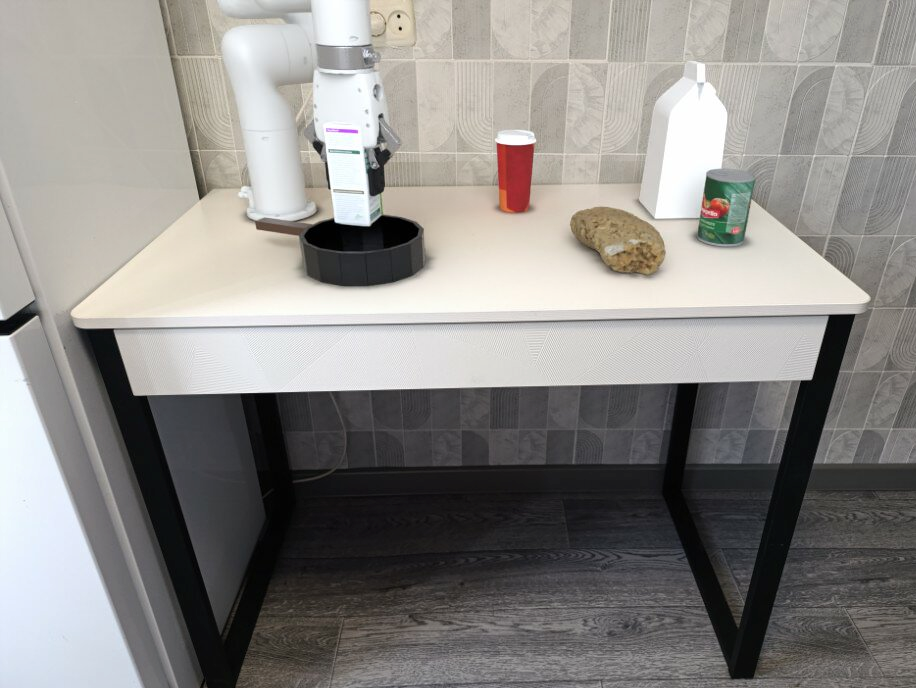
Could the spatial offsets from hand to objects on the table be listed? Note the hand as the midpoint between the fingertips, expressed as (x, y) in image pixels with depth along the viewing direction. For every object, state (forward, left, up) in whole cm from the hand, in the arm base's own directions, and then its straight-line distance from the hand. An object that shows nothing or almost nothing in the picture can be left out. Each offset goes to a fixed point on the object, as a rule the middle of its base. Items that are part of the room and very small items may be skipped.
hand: (356, 189), depth 103 cm
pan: (-4, 0, -11) cm, 12 cm away
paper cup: (+12, +36, -12) cm, 40 cm away
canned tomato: (+51, +33, -12) cm, 62 cm away
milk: (+41, +48, -12) cm, 64 cm away
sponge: (+36, +18, -12) cm, 42 cm away
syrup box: (0, 0, -5) cm, 5 cm away
